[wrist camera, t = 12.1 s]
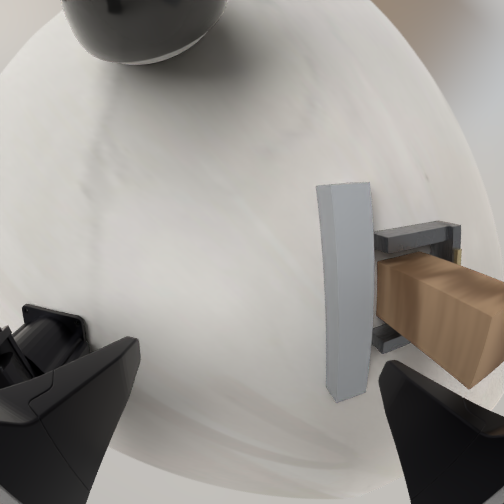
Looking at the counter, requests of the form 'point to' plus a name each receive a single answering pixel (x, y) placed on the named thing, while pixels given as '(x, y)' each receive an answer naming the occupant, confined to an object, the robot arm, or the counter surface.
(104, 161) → the counter surface
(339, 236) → the door edge
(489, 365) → the block
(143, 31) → the dark grey egg shape
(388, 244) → the keeper
